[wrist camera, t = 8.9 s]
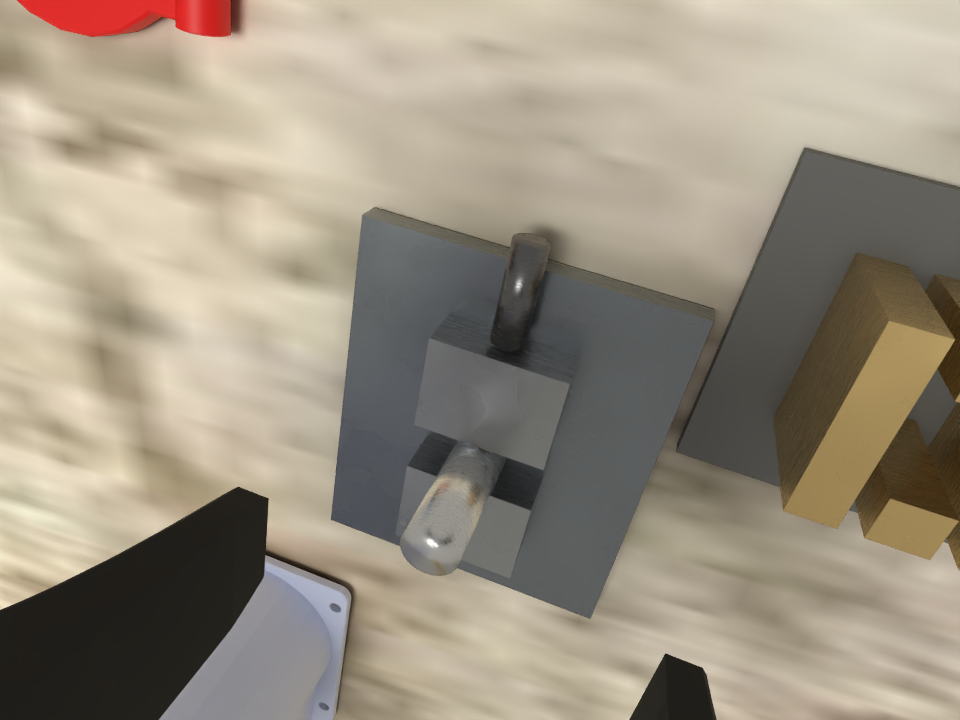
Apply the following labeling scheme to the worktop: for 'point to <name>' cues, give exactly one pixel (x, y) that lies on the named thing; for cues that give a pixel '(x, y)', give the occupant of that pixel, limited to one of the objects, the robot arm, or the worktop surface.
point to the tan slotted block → (876, 411)
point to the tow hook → (133, 15)
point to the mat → (816, 299)
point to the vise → (504, 406)
